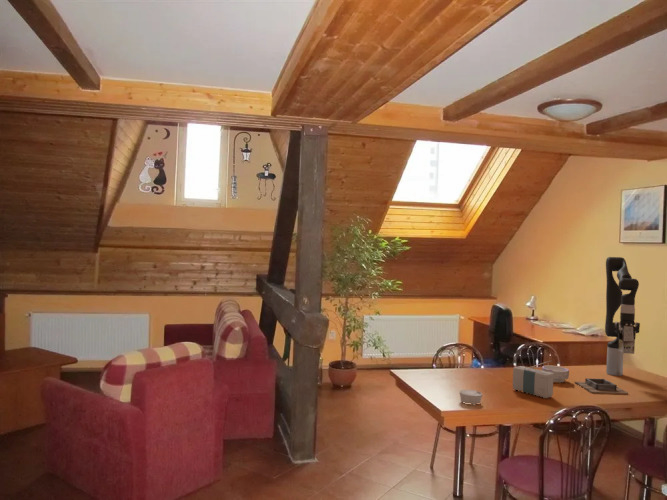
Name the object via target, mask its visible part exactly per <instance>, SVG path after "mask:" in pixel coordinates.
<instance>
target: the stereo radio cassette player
mask: <svg viewBox="0 0 667 500" xmlns="http://www.w3.org/2000/svg"><path fill="white" fill-rule="evenodd" d="M549 362H552V359H551V360H549V361H545V362H541V363H539V364H535V365H532V366H529V367H528V366H524V365H519V366H514V367H513V369H512V389H513V390H514V391H516V390H519V391H518V392H520V391H523V392H522V393H524V392H526V393H525V394H528V393H530V394H529V395H531V394H533V395H532V396H535V395H536V396H535V397H539V396H540V397H539V398H542V397H543V399H545V398H546V399H549V398H552V397H553V395H554V382H553V377H554V373H551V372H546V371H542V369H537V368H534V367H537V366H540V365H543V364H546V363H549Z"/></svg>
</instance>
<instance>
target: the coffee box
mask: <svg viewBox="0 0 667 500" xmlns="http://www.w3.org/2000/svg"><path fill="white" fill-rule="evenodd" d="M620 326H621V325H619V328H620ZM621 328H622V329H623V330H622V333H621V334H622V340H619V347H618V350H619V351H620V352H622V353H623V354H629V355H632V354H633V355H634V354H635V347H636V346H635V344H636V342H635V341H636V337H635V325H634V326H630V325H627V326H621Z"/></svg>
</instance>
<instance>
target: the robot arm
mask: <svg viewBox="0 0 667 500" xmlns="http://www.w3.org/2000/svg"><path fill="white" fill-rule="evenodd" d="M605 272H606V273H605V275H606V293H605V295H606V296H605V297H606V298H605V299H606V301H605V304H606V306H605V307H606V313H605V323H604V324H605V325H604V331H605V335H606V337H609V338H615V339H613V340H611V341H608V342H607V345H606V346H607V348H606V349H607V350H606V369H605V371H606V372H605V373H606V374H607V375H609V376H615V377H616V376H618V377H620V376H621V377H622V376H623V374H624V353H622V352H620V351H619V350H618V347H619V340H622V334H621V333H622V330H623V329H622V328H621V326H627V325H630V326H635V338H636V337H637V335H636V334H640V327H641V323H640V322H637V321H636V322H635V319H636V315H635V314H636V308H635V307H636V300H635V299H636V294H637V291H638V290H639V286H640V284H639V280H638V279H637V278H633V277H632V275H631V274H630V273H629V269H628V265H627V262H626V259H625V258H624V257H620V256H619V257H618V256H617V257H616V256H608V257H607V258H606V260H605ZM613 272H616V277H617V280H618V283H617V281H616V280H615V277H614V274H613ZM623 291H630V292H629V293H625V294H623ZM619 309H620V311H619V312H620V313H619V315H620V316H619V317H620V318H619V322H618V321H615V322H614V317H615V314H616V312H618V310H619ZM619 325H621V326H620V328H619Z"/></svg>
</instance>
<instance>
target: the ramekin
mask: <svg viewBox="0 0 667 500" xmlns="http://www.w3.org/2000/svg"><path fill="white" fill-rule="evenodd" d="M459 397H460V401H462V402H465V403H471V404H477V403H480V404H481V402H482V397H483V393H482V392H481V391H478V390H474V389H462V390H460V391H459ZM462 402H461V403H462Z"/></svg>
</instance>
